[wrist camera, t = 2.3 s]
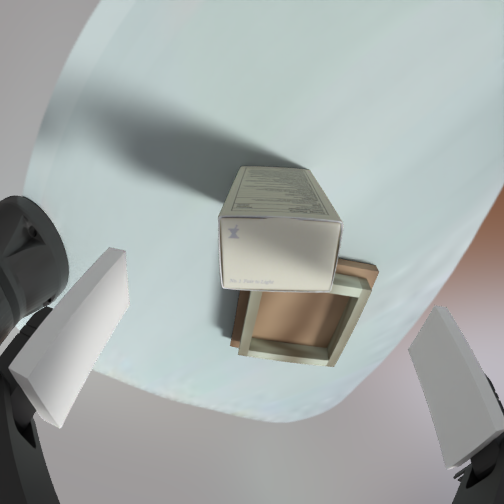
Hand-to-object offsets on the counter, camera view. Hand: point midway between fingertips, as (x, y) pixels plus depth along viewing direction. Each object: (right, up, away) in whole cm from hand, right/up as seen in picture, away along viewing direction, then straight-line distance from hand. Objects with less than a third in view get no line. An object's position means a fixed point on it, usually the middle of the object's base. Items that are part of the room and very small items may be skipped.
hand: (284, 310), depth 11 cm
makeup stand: (+4, -4, +20) cm, 21 cm away
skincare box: (+1, +8, +14) cm, 16 cm away
